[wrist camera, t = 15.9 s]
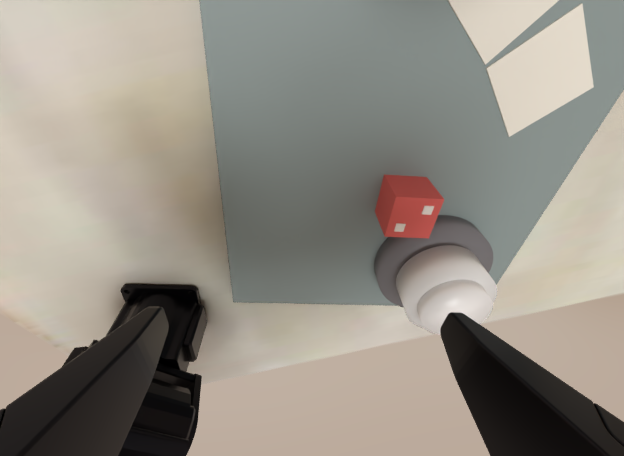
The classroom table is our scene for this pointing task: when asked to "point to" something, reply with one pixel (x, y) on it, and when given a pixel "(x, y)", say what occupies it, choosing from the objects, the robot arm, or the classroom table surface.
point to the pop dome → (445, 287)
